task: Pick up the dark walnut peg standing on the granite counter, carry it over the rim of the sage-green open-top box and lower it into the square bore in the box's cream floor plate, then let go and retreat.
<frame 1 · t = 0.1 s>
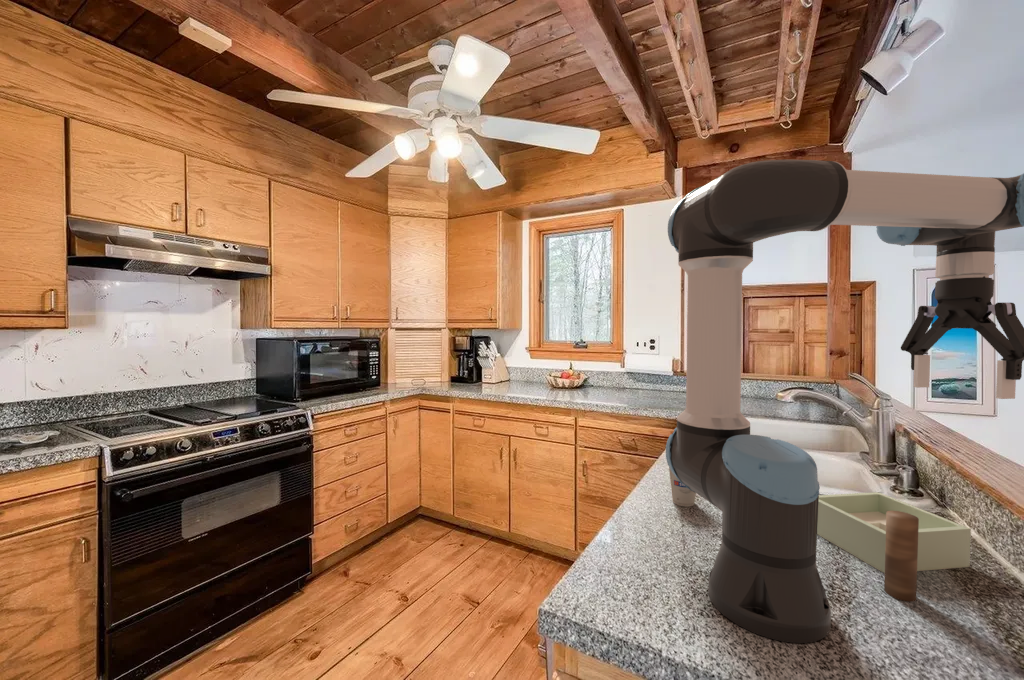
hand: (959, 392, 81), 28 cm above the countertop, fingers open, 13 cm apart
peg: (899, 594, 65), on the countertop
peg box: (880, 545, 79), on the countertop
coffee cup: (683, 503, 99), on the countertop
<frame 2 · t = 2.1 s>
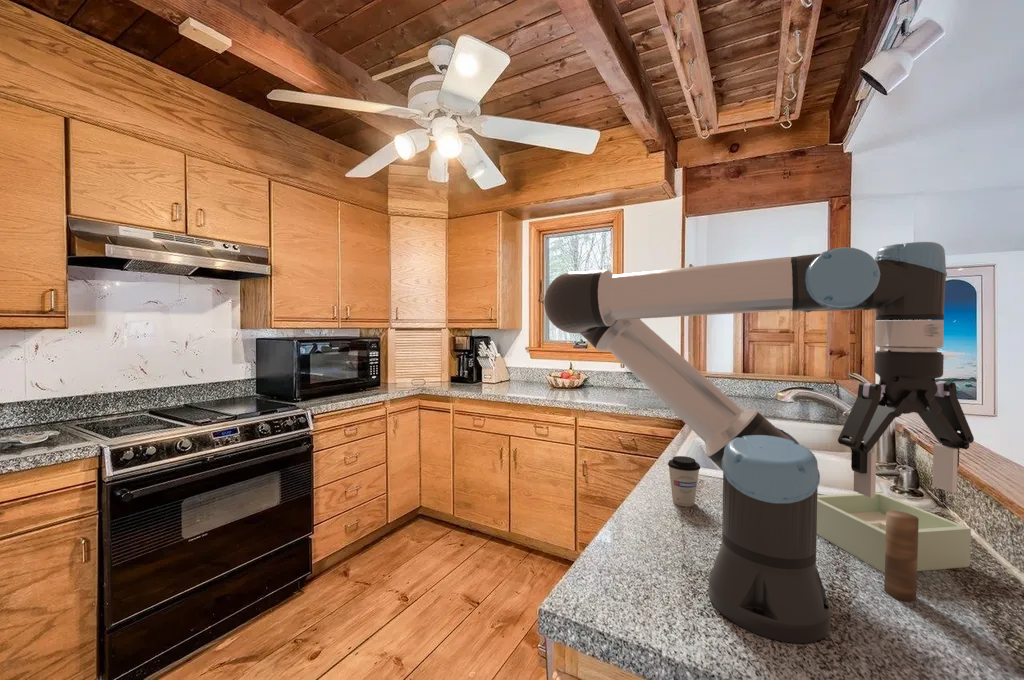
hand: (904, 491, 64), 16 cm above the countertop, fingers open, 13 cm apart
nothing on the countertop moved.
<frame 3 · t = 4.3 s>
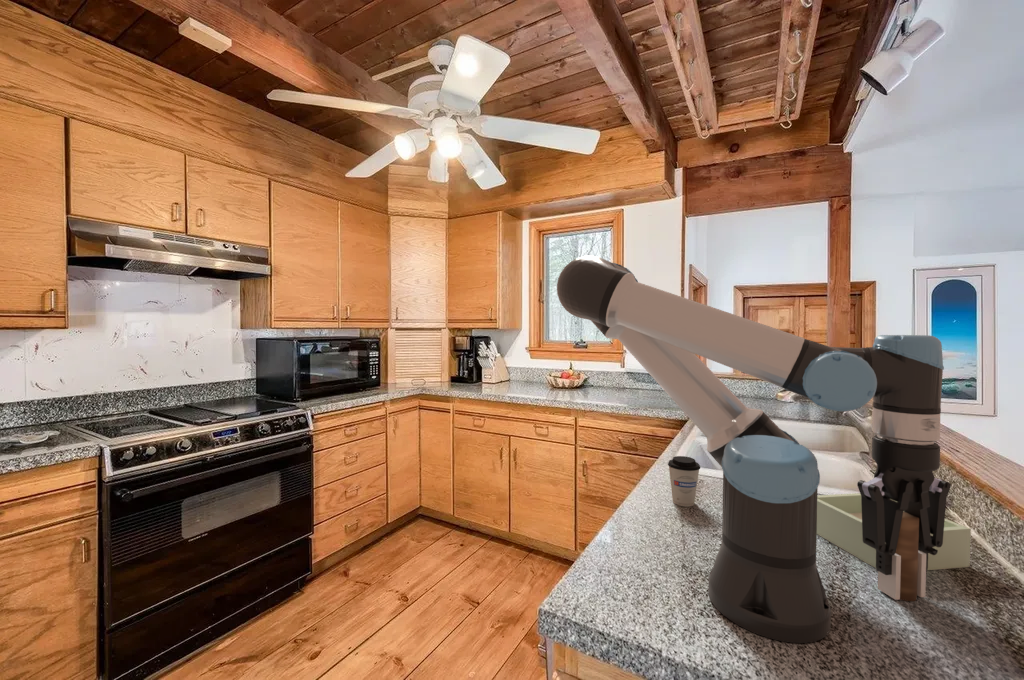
hand: (901, 592, 65), 0 cm above the countertop, fingers closed on peg, 4 cm apart
peg: (900, 593, 65), on the countertop, touching gripper
everything else where it was.
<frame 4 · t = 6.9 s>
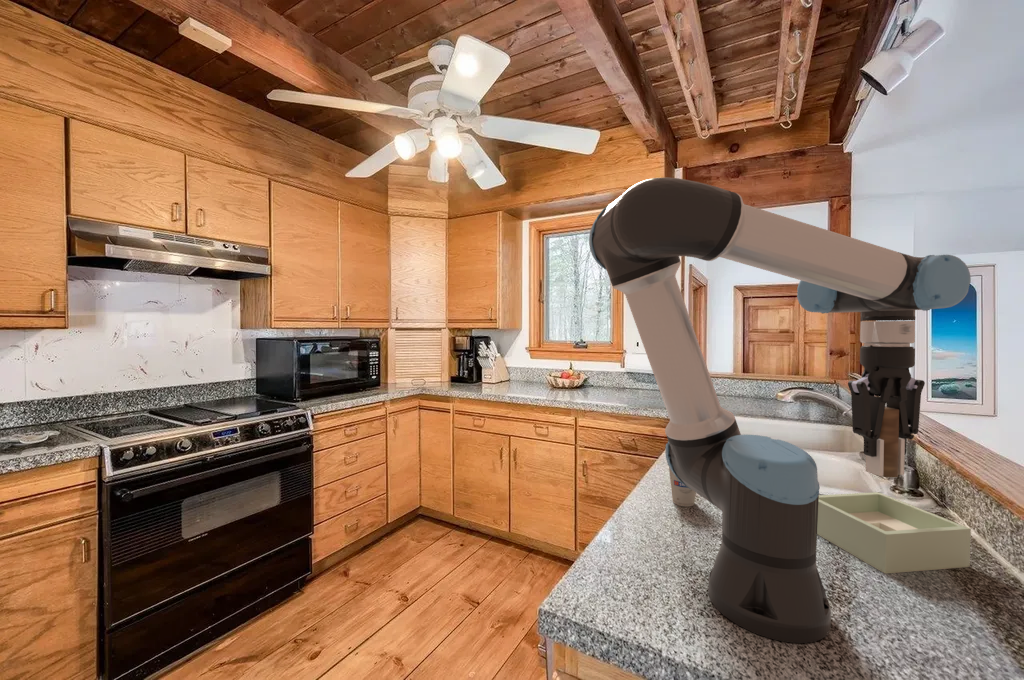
hand: (884, 472, 79), 14 cm above the countertop, fingers closed on peg, 3 cm apart
peg: (884, 473, 79), point 13 cm above the countertop, touching gripper
everything else where it was.
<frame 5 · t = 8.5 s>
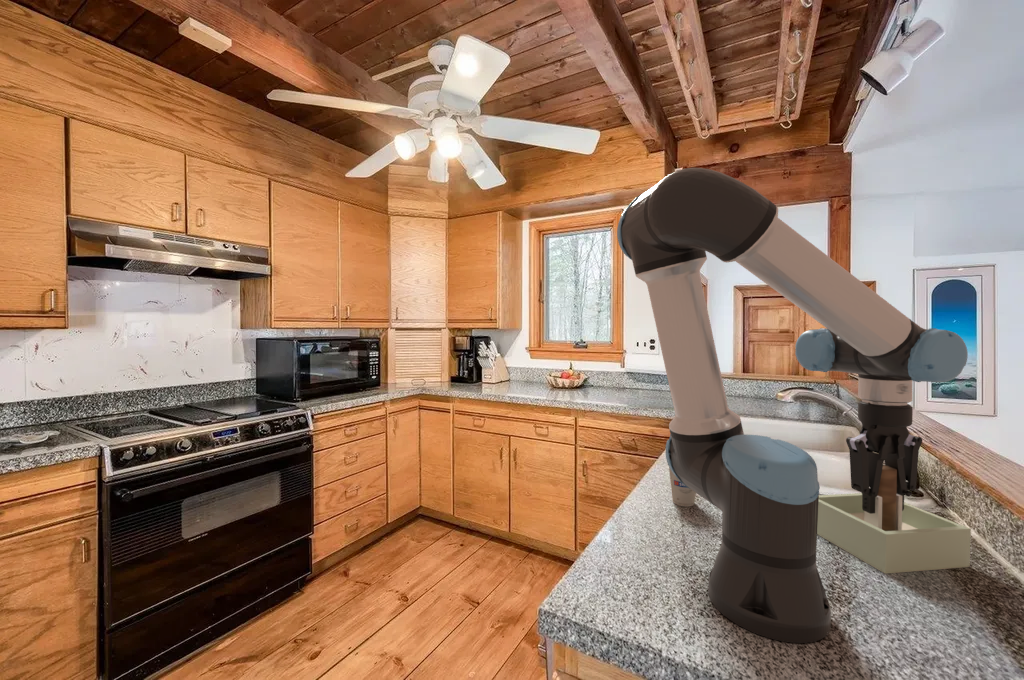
hand: (882, 528, 79), 3 cm above the countertop, fingers closed on peg, 3 cm apart
peg: (882, 532, 79), point 2 cm above the countertop, touching gripper
everything else where it was.
when the fingers open (3 cm above the countertop, at t = 9.8 s): peg drops 2 cm, resting in peg box.
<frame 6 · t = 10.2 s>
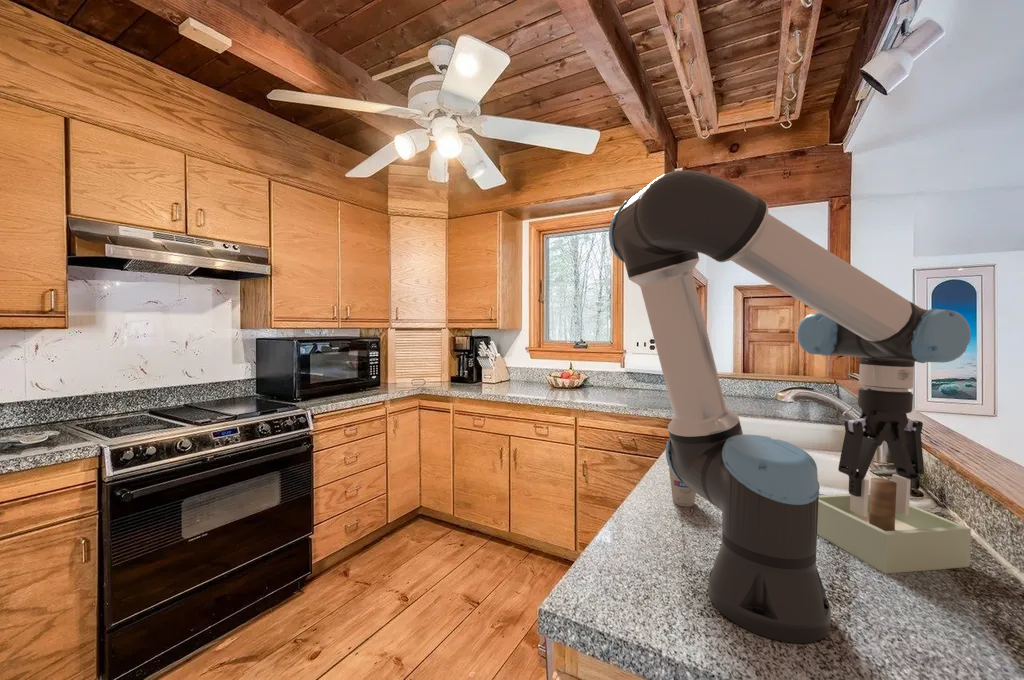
hand: (879, 512, 79), 6 cm above the countertop, fingers open, 8 cm apart
peg: (880, 545, 79), resting in peg box
everything else where it was.
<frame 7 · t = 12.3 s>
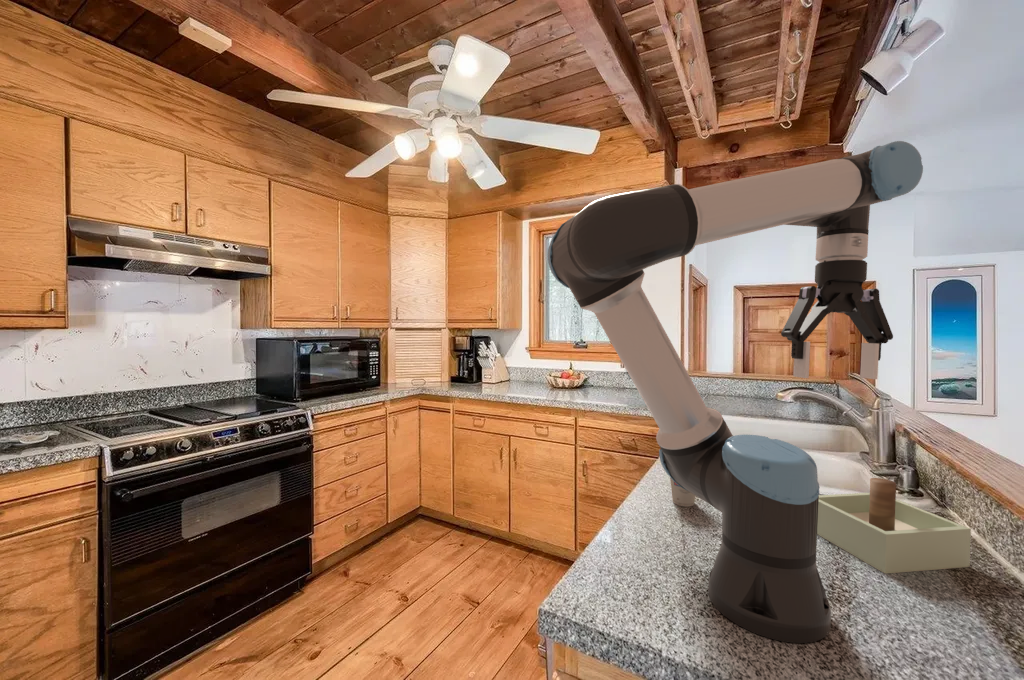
hand: (835, 378, 79), 31 cm above the countertop, fingers open, 13 cm apart
nothing on the countertop moved.
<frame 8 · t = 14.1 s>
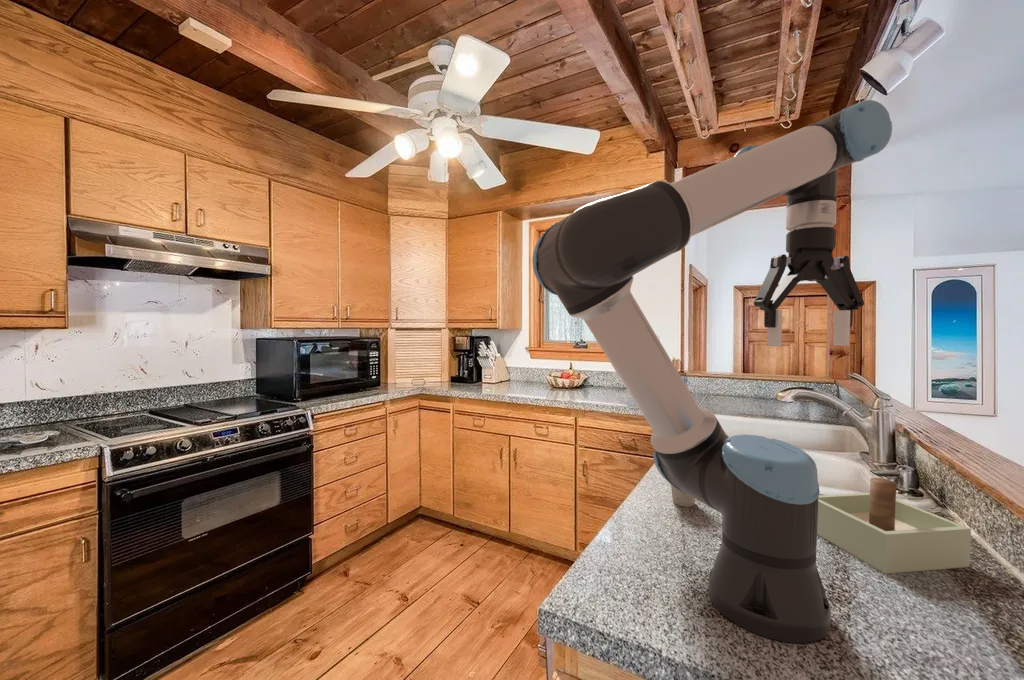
hand: (808, 346, 80), 37 cm above the countertop, fingers open, 13 cm apart
nothing on the countertop moved.
at the end: peg 0.0 cm off-centre on the peg box, point 0.0 cm above the peg box's base; peg tilted 0°; the gripper is holding nothing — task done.
